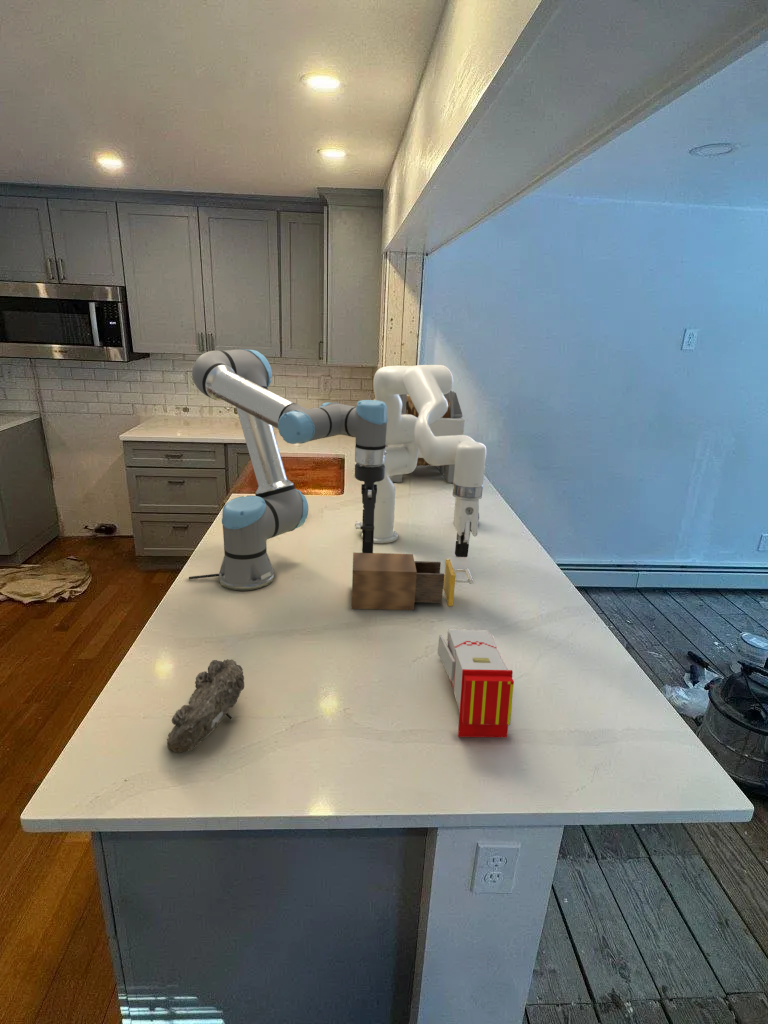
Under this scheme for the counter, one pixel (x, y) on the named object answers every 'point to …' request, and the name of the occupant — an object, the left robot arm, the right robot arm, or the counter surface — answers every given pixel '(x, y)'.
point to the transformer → (437, 430)
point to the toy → (478, 682)
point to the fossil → (206, 705)
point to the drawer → (437, 581)
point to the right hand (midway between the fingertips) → (461, 555)
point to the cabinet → (383, 581)
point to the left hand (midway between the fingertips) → (367, 542)
